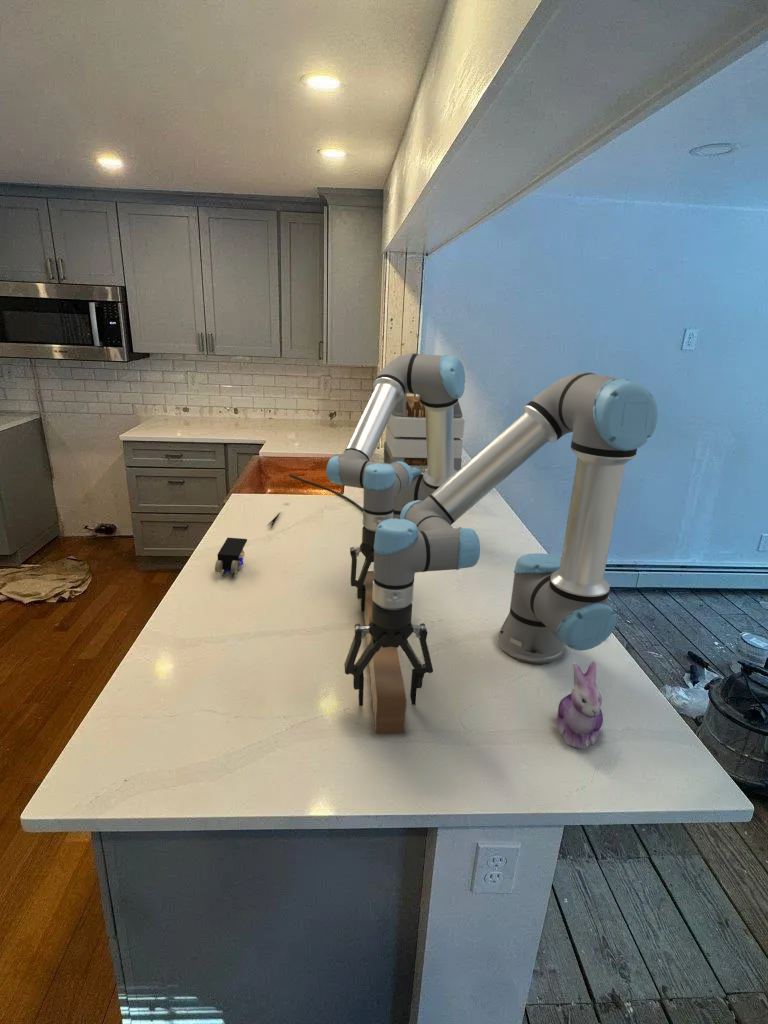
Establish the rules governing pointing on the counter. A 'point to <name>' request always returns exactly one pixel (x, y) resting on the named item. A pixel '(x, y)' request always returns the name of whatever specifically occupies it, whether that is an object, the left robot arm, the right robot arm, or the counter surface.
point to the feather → (273, 520)
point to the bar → (384, 678)
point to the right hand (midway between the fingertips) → (386, 700)
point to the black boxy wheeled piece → (230, 556)
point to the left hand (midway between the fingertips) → (374, 608)
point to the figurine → (581, 709)
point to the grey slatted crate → (416, 433)
